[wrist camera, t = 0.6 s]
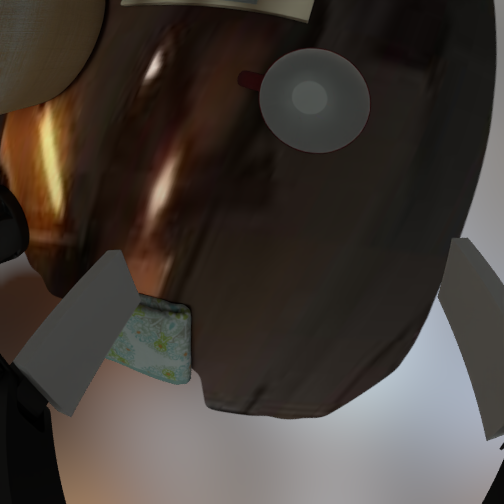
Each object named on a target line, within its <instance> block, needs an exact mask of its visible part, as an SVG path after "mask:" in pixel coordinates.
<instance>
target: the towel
mask: <svg viewBox="0 0 504 504" xmlns="http://www.w3.org/2000/svg"><path fill="white" fill-rule="evenodd" d="M138 294H139V296H140V298H141V302H140V303H139V305H138V306H137V308H136V309H135V311H134V312H133V314H132V316H131V317H130V319H129V320H128V322H127V323H126V325H125V326H124V328H123V330H122V331H121V333H120V334H119V336H118V338H117V339H116V341H115V342H114V344H113V346H112V347H111V349H110V350H109V352H108V354H107V355H106V357H105V358H106V359H109V360H112V361H115V362H117V363H120V364H122V365H124V366H127V367H129V368H131V369H133V370H136V371H138V372H141V373H143V374H146V375H148V376H150V377H153V378H156V379H159V380H162V381H165V382H168V383H172V384H176V385H179V384H186V383H188V382H189V381H190V379H191V313H190V310H189V308H187V307H186V306H185V305H184V304H174V303H170V302H168V301H165V300H162V299H158V298H154V297H151V296H147V295H143V294H140V293H138Z"/></svg>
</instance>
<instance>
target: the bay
mask: <svg viewBox="0 0 504 504" xmlns="http://www.w3.org/2000/svg"><path fill="white" fill-rule="evenodd" d="M225 1H234V2H242V3H249V4H257V0H225Z"/></svg>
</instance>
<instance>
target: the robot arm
mask: <svg viewBox="0 0 504 504" xmlns="http://www.w3.org/2000/svg"><path fill="white" fill-rule="evenodd" d="M28 243H29V232H28V227H27V223H26V219H25V216H24V214H23V211H22V209H21V207H20V205H19V203H18V201H17V200H16V198H15V197H14V196H13V194H12V193H11V192H10V191H9V190H8V189H7V188H6V187H4V186H2V185H0V264H1V263H3V262H6V261H9V260H12V259H15V258H17V257H18V256H20V255H21V254H22V253H23V252H24V251H25V250H26V249H27V247H28ZM438 299H439V301H440V303H441V305H442V308H443V310H444V312H445V314H446V317H447V319H448V321H449V324H450V326H451V329H452V331H453V333H454V336H455V338H456V341H457V343H458V346H459V349H460V351H461V354H462V357H463V360H464V362H465V365H466V368H467V371H468V374H469V377H470V380H471V383H472V386H473V390H474V393H475V397H476V400H477V404H478V407H479V411H480V415H481V418H482V423H483V427H484V431H485V436H486V440H487V441H488V440H490V439H493V438H496V437H499V436H502V435H504V285H503V283H502V282H501V281H500V279H499V277H498V276H497V275H496V273H495V272H494V271H493V269H492V268H491V266H490V265H489V264H488V262H487V261H486V260H485V259H484V257H483V256H482V255H481V253H480V252H479V251H478V250H477V249H476V247H475V246H474V245H473V244H472V242H471V241H470V240H469V239H468V238H452V241H451V246H450V250H449V255H448V259H447V263H446V268H445V272H444V275H443V279H442V283H441V287H440V290H439V294H438ZM140 302H141V298H140V296H139V294H138V291H137V289H136V287H135V284H134V282H133V279H132V277H131V274H130V272H129V269H128V267H127V264H126V262H125V259H124V257H123V254H122V251H121V250H108V251H107V252H106V253H105V254H104V255H103V256H102V257H101V258H100V259H99V260H98V261H97V262H96V263H95V264H94V265H93V266H92V267H91V268H90V269H89V271H88V272H87V273H86V274H85V275H84V276H83V277H82V278H81V279H80V280H79V281H78V282H77V283H76V285H75V286H74V287H73V288H72V289H71V290H70V291H69V292H68V294H67V295H66V296H65V297H64V298H63V299H62V300H61V302H60V303H59V304H58V305H57V306H56V307H55V309H54V310H53V311H52V312H51V313H50V315H49V316H48V317H47V318H46V319H45V321H44V322H43V323H42V324H41V326H40V327H39V328H38V329H37V331H36V332H35V333H34V334H33V335H32V337H31V338H30V339H29V341H28V342H27V343H26V345H25V346H24V347H23V349H22V350H21V351H20V352H19V354H18V355H17V357H16V358H15V359H14V361H13V362H12V363H11V364H10V365H9V364H8V363H7V362H6V360H5V359H4V358H3V357H2V356H1V354H0V504H66V501H65V497H64V493H63V490H62V485H61V481H60V476H59V471H58V465H57V460H56V454H55V447H54V440H53V432H52V423H51V413H50V410H49V408H48V407H47V406H46V405H47V403H48V402H50V404H51V405H52V406H53V407H54V408H55V409H56V410H57V411H59V412H61V413H63V414H66V415H68V416H70V417H71V416H72V415H73V413H74V411H75V409H76V407H77V405H78V403H79V402H80V400H81V398H82V396H83V395H84V393H85V391H86V389H87V388H88V386H89V384H90V382H91V381H92V379H93V377H94V376H95V374H96V372H97V370H98V369H99V367H100V365H101V364H102V362H103V360H104V359H105V357H106V355H107V354H108V352H109V350H110V349H111V347H112V346H113V344H114V342H115V341H116V339H117V338H118V336H119V334H120V333H121V331H122V330H123V328H124V326H125V325H126V323H127V322H128V320H129V319H130V317H131V316H132V314H133V312H134V311H135V309H136V308H137V306H138V305H139V303H140ZM502 449H504V443H503V444H502V446H501V447H500V450H502ZM482 504H504V460H503V462H502V464H501V466H500V469H499V471H498V473H497V475H496V478H495V479H494V481H493V483H492V485H491V487H490V489H489V491H488V493H487V495H486V497H485V499H484V501H483V502H482Z"/></svg>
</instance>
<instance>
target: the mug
mask: <svg viewBox="0 0 504 504" xmlns="http://www.w3.org/2000/svg"><path fill="white" fill-rule="evenodd" d="M238 84H239V85H240V86H243V87H245V88H249V89H252V90H256V91H259V107H260V112H261V115H262V117H263V120H264V122H265V124H266V125H267V127H268V128H269V130H270V131H271V132H272V133H273V135H274V136H275V137H276V138H278V139H279V140H280V141H281V142H283V143H284V144H286V145H287V146H289V147H291V148H293V149H295V150H298V151H301V152H305V153H312V154H324V153H330V152H334V151H337V150H340V149H342V148H344V147H346V146H348V145H349V144H351V143H352V142H353V141H354V140H355V139H356V138H357V137H358V136H359V135H360V134H361V133H362V131H363V130H364V128H365V126H366V124H367V122H368V119H369V116H370V110H371V97H370V92H369V88H368V85H367V83H366V81H365V79H364V77H363V75H362V74H361V72H360V71H359V70H358V69H357V67H356V66H355V65H354V64H353V63H352V62H350V61H349V60H348V59H346V58H345V57H343V56H342V55H340V54H338V53H335V52H333V51H330V50H327V49H322V48H302V49H297V50H293V51H291V52H288V53H286V54H284V55H283V56H281V57H280V58H278V59H277V60H276V61H275V62H274V63H273V64H272V65H271V66H270V67H269V68H268V69H267V71H266V73H265V74H264V75H262V74H258V73H254V72H250V71H242V72H241V73H240V74H239V76H238Z"/></svg>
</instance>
